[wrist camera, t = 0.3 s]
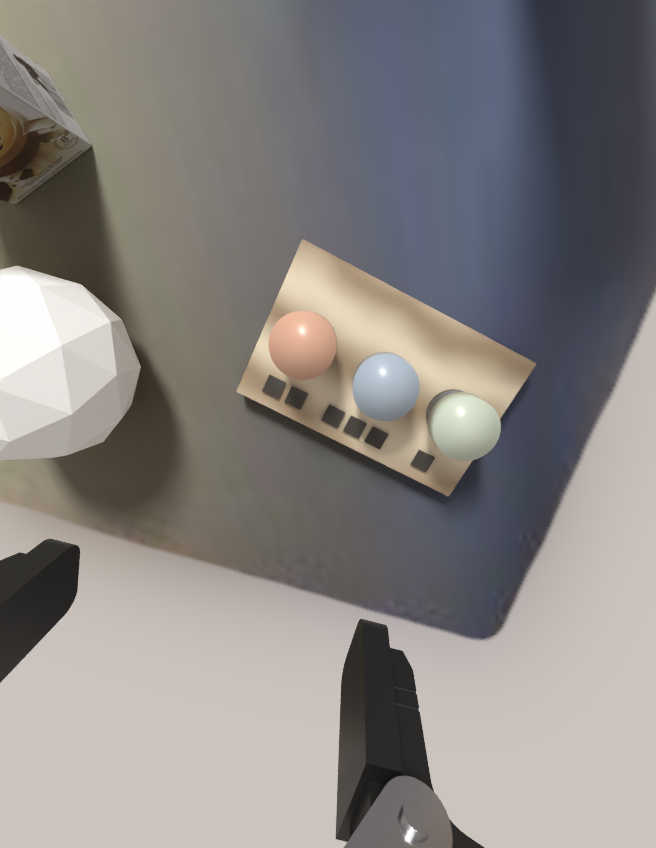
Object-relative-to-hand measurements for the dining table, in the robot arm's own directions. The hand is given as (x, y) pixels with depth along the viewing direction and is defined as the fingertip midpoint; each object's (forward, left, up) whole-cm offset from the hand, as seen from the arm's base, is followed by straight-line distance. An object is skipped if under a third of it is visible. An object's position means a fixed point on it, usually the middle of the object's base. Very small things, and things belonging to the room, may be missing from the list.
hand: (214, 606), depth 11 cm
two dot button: (-5, -2, -23) cm, 23 cm away
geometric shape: (+6, -20, -27) cm, 35 cm away
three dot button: (-5, +5, -23) cm, 24 cm away
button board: (-5, +5, -27) cm, 28 cm away
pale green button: (-5, +12, -23) cm, 26 cm away
